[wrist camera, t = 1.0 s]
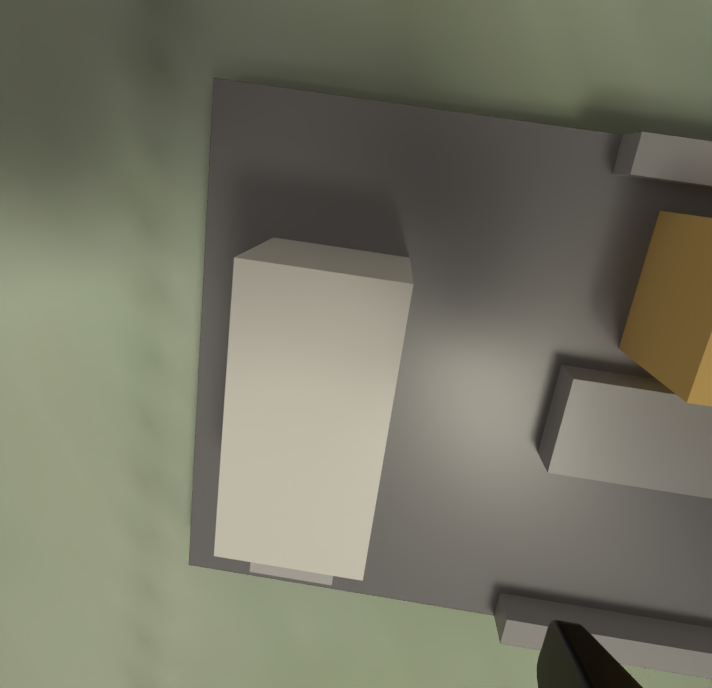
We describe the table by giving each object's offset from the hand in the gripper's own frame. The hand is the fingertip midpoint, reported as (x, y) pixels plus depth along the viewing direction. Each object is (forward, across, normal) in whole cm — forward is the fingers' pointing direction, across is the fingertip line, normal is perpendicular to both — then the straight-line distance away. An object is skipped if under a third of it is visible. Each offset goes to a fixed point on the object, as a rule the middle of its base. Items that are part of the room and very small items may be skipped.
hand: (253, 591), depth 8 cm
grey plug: (+9, 0, 0) cm, 9 cm away
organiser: (+11, -7, 0) cm, 13 cm away
